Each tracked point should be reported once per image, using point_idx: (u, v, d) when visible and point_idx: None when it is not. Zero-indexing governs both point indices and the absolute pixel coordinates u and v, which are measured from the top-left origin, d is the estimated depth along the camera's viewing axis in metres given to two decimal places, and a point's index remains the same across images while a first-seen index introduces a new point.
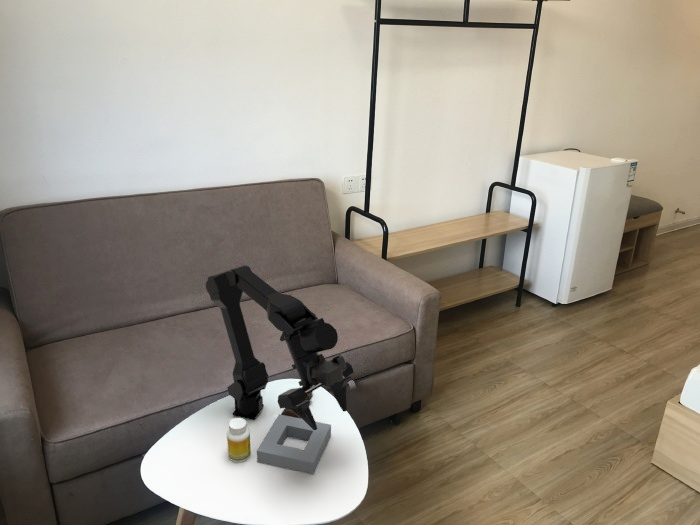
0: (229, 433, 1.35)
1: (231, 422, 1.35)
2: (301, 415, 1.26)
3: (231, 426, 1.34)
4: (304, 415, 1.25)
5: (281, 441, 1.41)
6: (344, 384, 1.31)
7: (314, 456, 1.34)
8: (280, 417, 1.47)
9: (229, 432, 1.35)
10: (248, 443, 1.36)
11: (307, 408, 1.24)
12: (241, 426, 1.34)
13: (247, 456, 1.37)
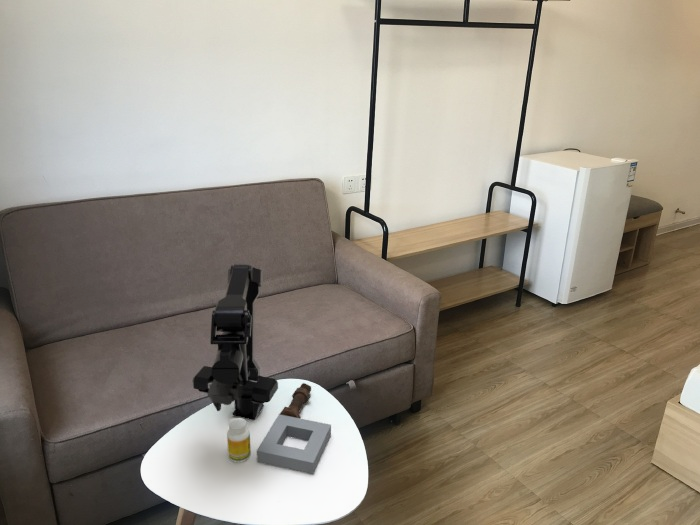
0: (229, 433, 1.35)
1: (231, 422, 1.35)
2: None
3: (231, 426, 1.34)
4: None
5: (281, 441, 1.41)
6: (254, 402, 1.29)
7: (314, 456, 1.34)
8: (280, 417, 1.47)
9: (229, 432, 1.35)
10: (248, 443, 1.36)
11: None
12: (241, 426, 1.34)
13: (247, 456, 1.37)
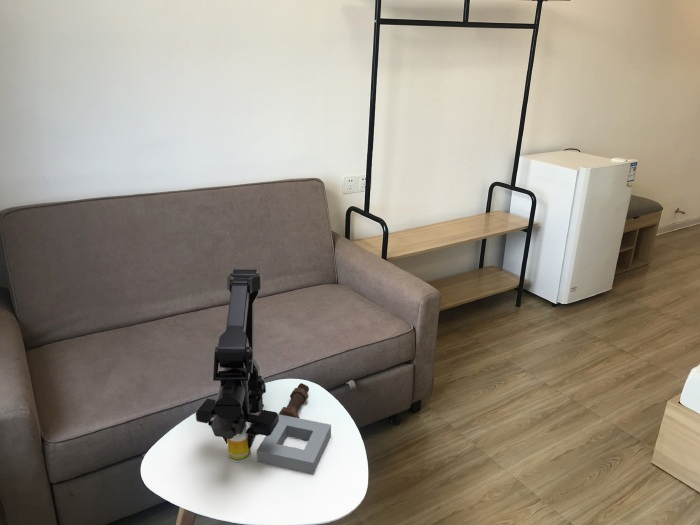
0: None
1: None
2: None
3: None
4: None
5: (281, 441, 1.41)
6: (248, 434, 1.33)
7: (314, 456, 1.34)
8: (280, 417, 1.47)
9: None
10: None
11: None
12: None
13: (247, 456, 1.37)
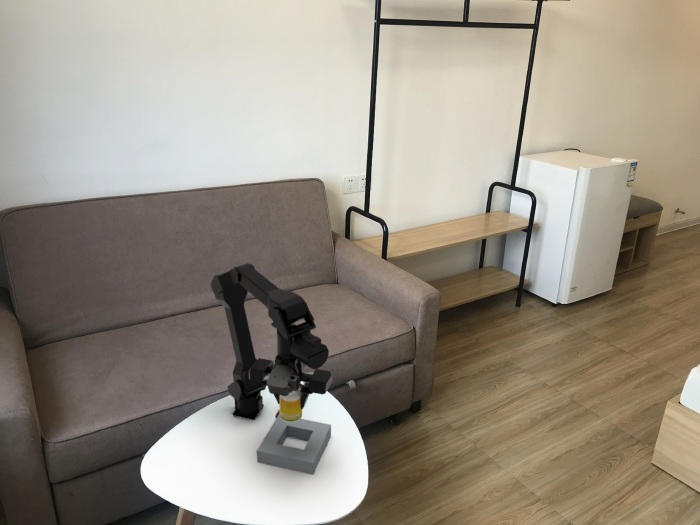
0: None
1: None
2: None
3: None
4: None
5: (281, 441, 1.41)
6: (302, 393, 1.31)
7: (314, 456, 1.34)
8: None
9: None
10: None
11: None
12: None
13: (299, 417, 1.35)
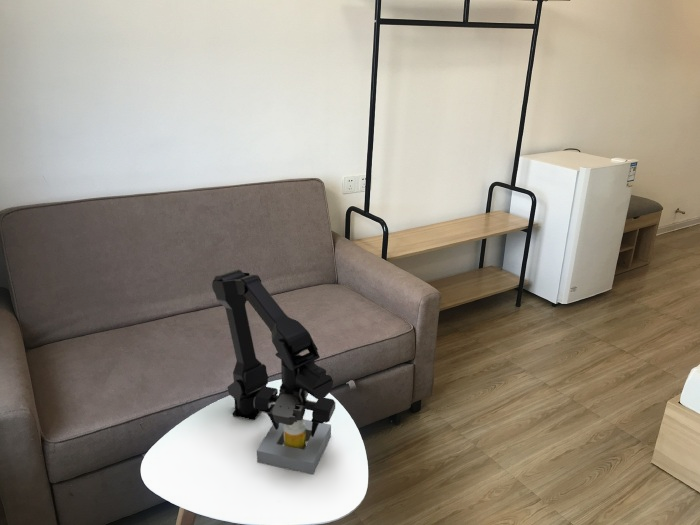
0: (286, 427, 1.38)
1: None
2: None
3: None
4: None
5: (281, 441, 1.41)
6: (313, 422, 1.34)
7: (314, 456, 1.34)
8: None
9: (286, 426, 1.38)
10: (304, 437, 1.39)
11: (270, 414, 1.37)
12: (298, 420, 1.37)
13: (303, 449, 1.40)
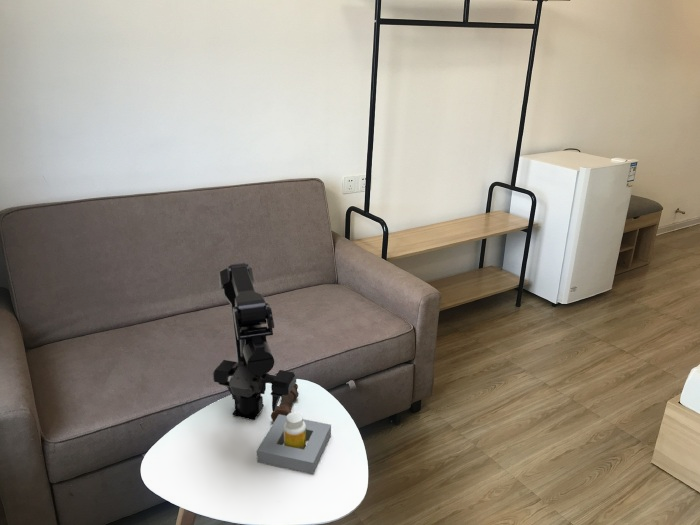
0: (286, 427, 1.38)
1: (288, 416, 1.38)
2: None
3: (289, 420, 1.37)
4: None
5: (281, 441, 1.41)
6: (273, 395, 1.32)
7: (314, 456, 1.34)
8: (280, 417, 1.47)
9: (286, 426, 1.38)
10: (304, 437, 1.39)
11: (230, 387, 1.35)
12: (298, 420, 1.37)
13: (303, 449, 1.40)
